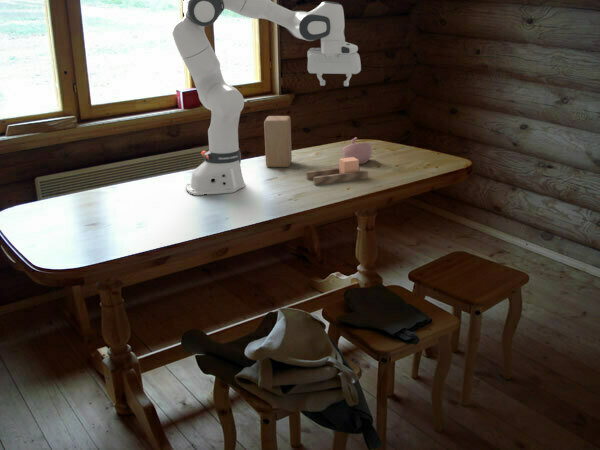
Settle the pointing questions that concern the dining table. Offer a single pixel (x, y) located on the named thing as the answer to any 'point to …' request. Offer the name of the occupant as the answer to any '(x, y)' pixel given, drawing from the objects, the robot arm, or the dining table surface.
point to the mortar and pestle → (358, 151)
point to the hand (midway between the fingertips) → (334, 85)
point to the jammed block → (348, 165)
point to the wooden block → (278, 141)
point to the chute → (334, 176)
